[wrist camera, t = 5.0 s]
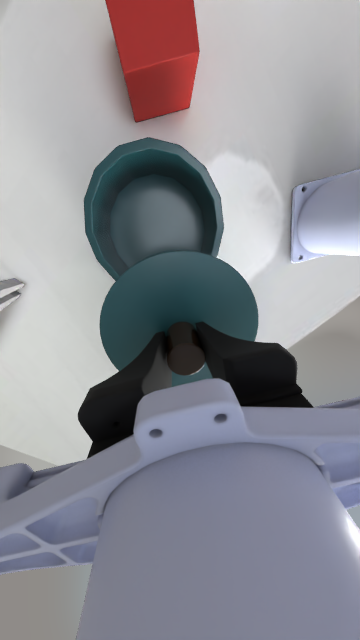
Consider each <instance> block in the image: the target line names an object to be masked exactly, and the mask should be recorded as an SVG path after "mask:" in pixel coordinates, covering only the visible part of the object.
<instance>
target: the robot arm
mask: <svg viewBox="0 0 360 640" xmlns="http://www.w3.org/2000/svg"><path fill="white" fill-rule="evenodd" d="M302 188H304V191H303V192H302ZM329 254H338V255H353V256H360V169H357V170H353V171H350V172H346V173H342V174H338V175H335V176H331V177H327V178H323V179H319V180H316V181H312V182H308V183H304V184H300V185H298V186H296V187H295V188H294V189H293V197H292V229H291V262H292V263H298V262H302V261H305V260H309V259H313V258H317V257H321V256H325V255H329ZM299 256H300V259H298V258H299ZM195 325H196V330H197V333H198V336H199V339H200V341H201V344H202V347H203V350H204V352H205V356H206V360H205V362H206V364H207V366H208V368H209V370H210V373H211V375H212V377H213V379H204V380H200V381H195V382H191V383H187V384H183V385H179V386H174V387H172V371H171V370H170V368H169V367H168V365H167V350H166V337H165V333H164V331H162V332H158V333H155V335H154V336H153V337H152V339H151V340H150V342H149V343H148V344H147V346H146V347H145V348H144V349H143V350H142V352H141V353H140V354H139V355H138V356H137V357H136V358H135V359H134V360H133V361H132V362H131V363H129V364H128V365H127V366H126V367H124V368H123V369H122V370H121V371H119V372H118V373H116V374H115V375H113V376H112V377H110V378H108V379H107V380H105V381H103V382H101V383H99V384H98V385H96V386H94V387H92V388H90V390H89V392H88V394H87V396H86V398H85V400H84V401H83V403H82V405H81V407H80V409H79V412H78V420H79V422H80V424H81V426H82V427H83V428H84V430H85V431H86V433H87V434H88V435H89V437H90V438H91V439H92V441H93V443H92V446H91V449H90V451H89V454H88V457H87V459H86V460H83V461H79V462H74V463H70V464H66V465H61V466H58V467H54V468H49V469H44V470H40V471H36V472H34V471H33V470H32V468H31V467H30V466H28V465H27V464H24V463H18V464H14V465H9V466H5V467H0V575H1V574H6V573H12V572H19V571H26V570H34V569H42V568H52V567H63V566H75V565H86V564H92V569H91V574H90V578H89V583H88V587H87V592H86V596H85V600H84V605H83V609H82V614H81V618H80V623H79V628H78V631H77V636H76V640H360V529H359V528H358V527H357V525H356V524H355V522H354V521H353V520H352V518H351V516H350V515H349V513H348V512H347V509H350V508H353V507H356V506H359V505H360V397H355V398H351V399H347V400H342V401H338V402H334V403H329V404H325V405H321V406H317V407H313V406H312V405H311V404H310V403H309V402H308V400H306V398H305V397H304V396H303V395H302V394H301V393H302V389H301V388H300V387H299V386H298V385H297V384H296V380H297V362H296V360H295V358H294V357H293V356H292V355H291V354H290V353H289V352H288V351H287V350H286V349H285V348H283V347H282V346H281V345H280V344H278V343H262V342H253V341H247V340H243V339H239V338H235V337H232V336H229V335H227V334H224V333H222V332H220V331H218V330H216V329H214V328H213V327H211V326H209V325H208V324H206V323H205V322H199V323H195Z"/></svg>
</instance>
